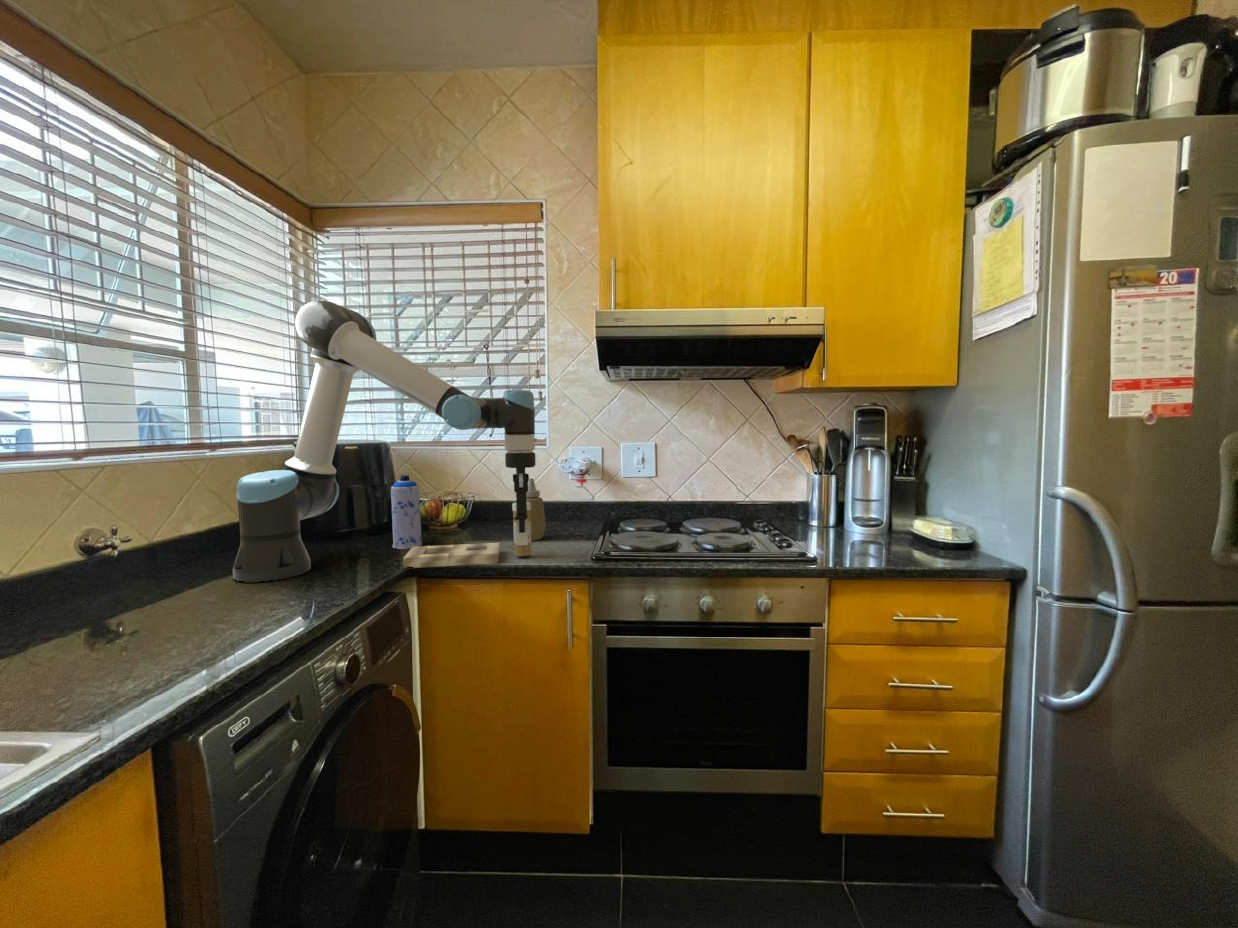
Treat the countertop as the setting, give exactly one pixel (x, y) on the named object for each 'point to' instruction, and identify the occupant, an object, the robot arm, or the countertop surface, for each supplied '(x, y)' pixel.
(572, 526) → the countertop surface
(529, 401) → the robot arm
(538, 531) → the squeeze bottle
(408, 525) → the aerosol can
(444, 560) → the holder block
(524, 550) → the sprinkles bottle
